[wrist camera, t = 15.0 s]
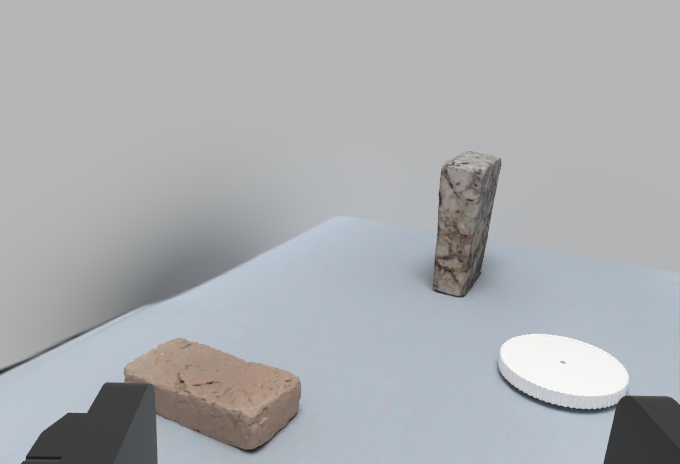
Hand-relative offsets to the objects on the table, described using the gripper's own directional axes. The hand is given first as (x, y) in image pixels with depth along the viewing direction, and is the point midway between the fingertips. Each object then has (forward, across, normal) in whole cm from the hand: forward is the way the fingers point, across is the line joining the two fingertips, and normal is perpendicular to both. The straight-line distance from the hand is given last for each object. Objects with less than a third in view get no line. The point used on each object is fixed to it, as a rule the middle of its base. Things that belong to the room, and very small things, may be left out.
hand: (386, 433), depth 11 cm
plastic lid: (+52, -29, +31) cm, 67 cm away
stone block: (+81, -24, +30) cm, 90 cm away
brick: (+46, +10, +31) cm, 56 cm away
